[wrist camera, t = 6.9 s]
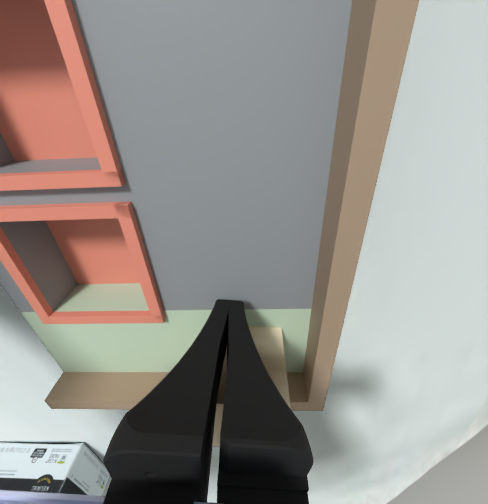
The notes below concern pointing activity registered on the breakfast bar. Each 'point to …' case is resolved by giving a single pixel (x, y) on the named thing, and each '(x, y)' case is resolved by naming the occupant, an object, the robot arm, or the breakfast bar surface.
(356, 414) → the breakfast bar surface
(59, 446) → the tea box
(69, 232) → the box
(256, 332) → the maple block
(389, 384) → the breakfast bar surface
